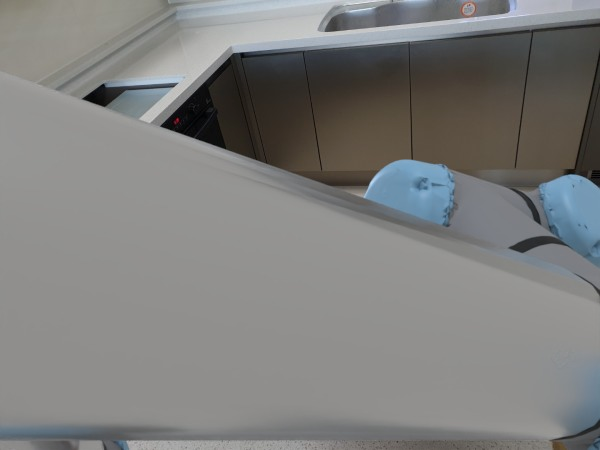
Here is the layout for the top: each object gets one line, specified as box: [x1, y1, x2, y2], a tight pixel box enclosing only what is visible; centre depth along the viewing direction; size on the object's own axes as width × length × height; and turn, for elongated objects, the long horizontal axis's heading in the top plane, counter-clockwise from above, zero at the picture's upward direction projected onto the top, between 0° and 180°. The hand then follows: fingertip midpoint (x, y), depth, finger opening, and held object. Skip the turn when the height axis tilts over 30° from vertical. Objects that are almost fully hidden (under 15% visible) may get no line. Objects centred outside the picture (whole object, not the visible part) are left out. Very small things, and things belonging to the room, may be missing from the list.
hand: (322, 336), depth 62 cm, fingers closed on supplement box, 7 cm apart
